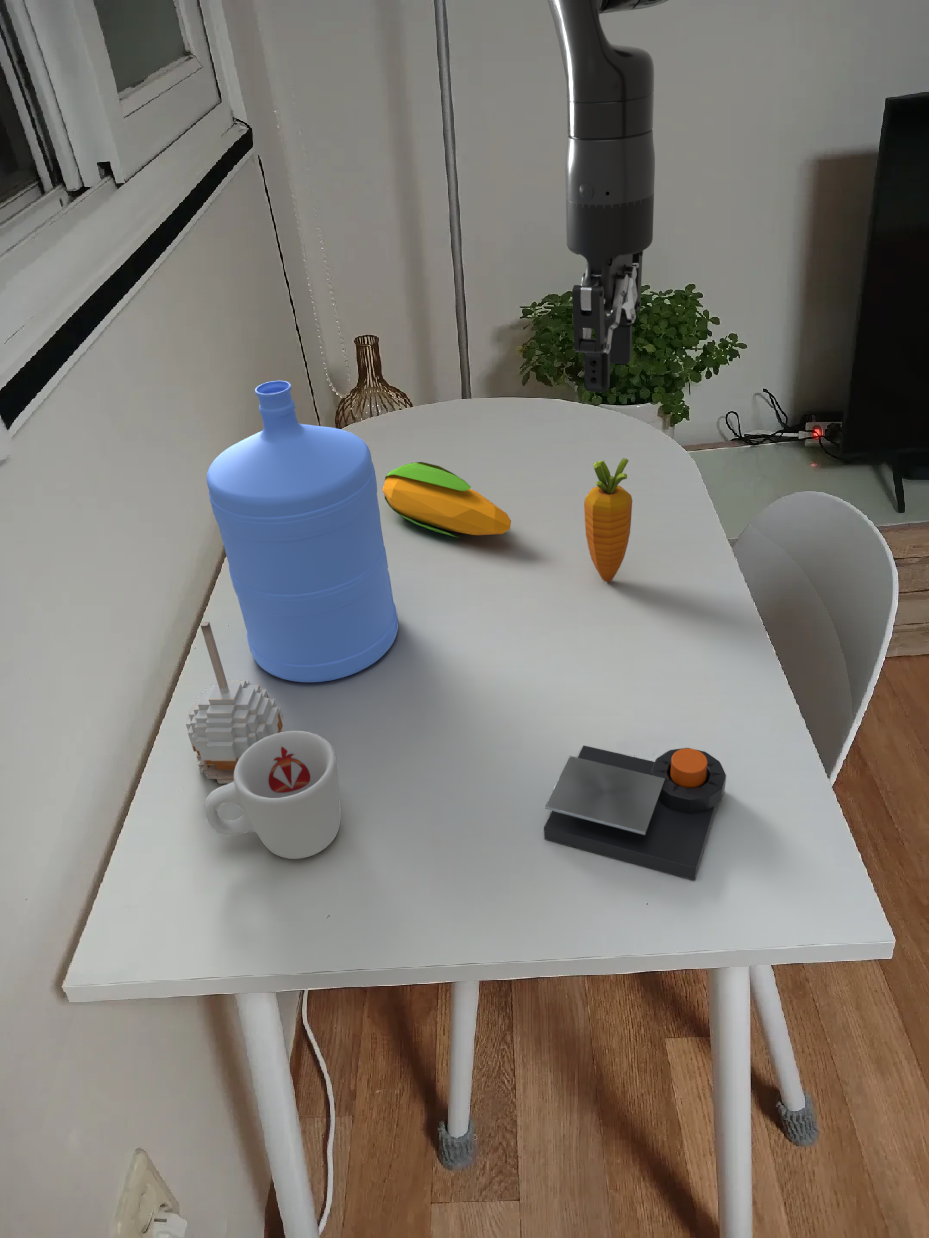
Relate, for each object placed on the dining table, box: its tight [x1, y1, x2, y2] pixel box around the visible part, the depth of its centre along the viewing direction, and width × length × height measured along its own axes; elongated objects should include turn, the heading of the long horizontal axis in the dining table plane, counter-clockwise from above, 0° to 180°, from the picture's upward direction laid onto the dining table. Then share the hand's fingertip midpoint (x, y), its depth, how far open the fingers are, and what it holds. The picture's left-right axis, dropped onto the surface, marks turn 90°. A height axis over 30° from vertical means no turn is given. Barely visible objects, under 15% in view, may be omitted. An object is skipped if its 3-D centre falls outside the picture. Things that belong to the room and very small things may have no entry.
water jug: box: [206, 380, 399, 683], centre depth 92 cm, size 16×16×28 cm
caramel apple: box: [185, 621, 284, 784], centre depth 82 cm, size 8×8×15 cm
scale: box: [543, 745, 727, 881], centre depth 77 cm, size 12×11×3 cm
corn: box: [382, 461, 512, 539], centre depth 116 cm, size 7×8×20 cm
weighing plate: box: [544, 755, 665, 835], centre depth 75 cm, size 8×6×1 cm
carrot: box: [583, 457, 633, 584], centre depth 101 cm, size 5×5×15 cm
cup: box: [204, 730, 342, 860], centre depth 76 cm, size 11×8×8 cm
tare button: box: [670, 747, 707, 788], centre depth 76 cm, size 3×3×2 cm
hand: (608, 375), depth 91 cm, fingers open, 6 cm apart
